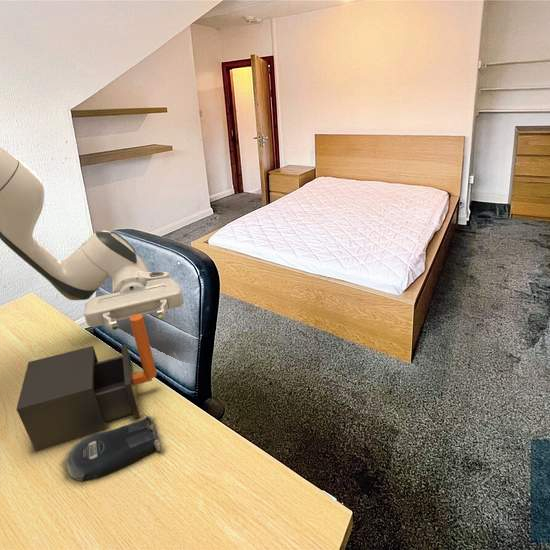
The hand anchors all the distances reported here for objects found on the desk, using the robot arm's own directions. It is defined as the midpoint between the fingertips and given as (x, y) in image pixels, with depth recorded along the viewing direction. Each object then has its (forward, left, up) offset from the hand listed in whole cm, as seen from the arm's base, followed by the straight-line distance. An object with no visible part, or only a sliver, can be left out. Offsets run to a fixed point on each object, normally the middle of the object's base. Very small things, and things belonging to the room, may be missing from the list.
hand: (137, 320), depth 83 cm
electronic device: (-8, -17, -16) cm, 25 cm away
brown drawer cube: (-16, -4, -16) cm, 23 cm away
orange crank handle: (-7, -4, -14) cm, 16 cm away
